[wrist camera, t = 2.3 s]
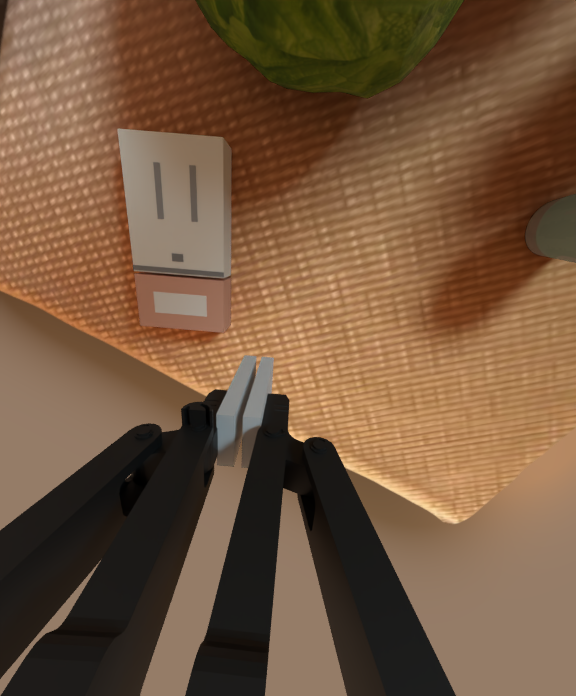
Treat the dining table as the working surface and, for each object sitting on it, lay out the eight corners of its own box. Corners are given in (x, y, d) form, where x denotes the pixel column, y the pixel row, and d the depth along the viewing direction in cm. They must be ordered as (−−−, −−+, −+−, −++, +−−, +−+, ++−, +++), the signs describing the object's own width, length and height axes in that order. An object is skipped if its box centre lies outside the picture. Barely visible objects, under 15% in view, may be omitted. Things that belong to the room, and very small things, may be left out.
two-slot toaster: (137, 141, 29) (116, 128, 26) (231, 149, 29) (223, 136, 26) (149, 268, 34) (133, 271, 31) (231, 275, 34) (223, 278, 30)
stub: (150, 270, 34) (133, 273, 31) (231, 277, 34) (223, 281, 31) (154, 318, 36) (139, 325, 33) (230, 324, 36) (223, 333, 33)
